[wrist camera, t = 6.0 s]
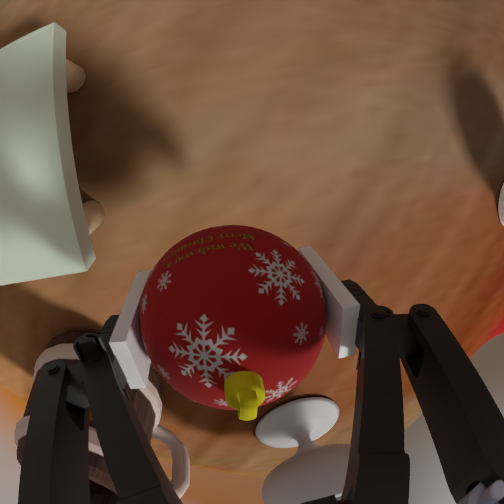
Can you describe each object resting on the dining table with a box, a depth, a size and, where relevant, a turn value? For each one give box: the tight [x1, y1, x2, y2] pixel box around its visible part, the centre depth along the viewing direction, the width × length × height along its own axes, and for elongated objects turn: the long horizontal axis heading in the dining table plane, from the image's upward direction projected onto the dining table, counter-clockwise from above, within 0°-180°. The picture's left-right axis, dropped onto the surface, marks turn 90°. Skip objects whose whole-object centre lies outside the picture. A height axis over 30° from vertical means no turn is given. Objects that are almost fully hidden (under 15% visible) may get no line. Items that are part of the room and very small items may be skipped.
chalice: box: [255, 397, 351, 504], centre depth 30 cm, size 14×14×15 cm
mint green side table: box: [0, 22, 104, 286], centre depth 16 cm, size 16×16×8 cm
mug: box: [15, 332, 190, 504], centre depth 23 cm, size 20×15×15 cm
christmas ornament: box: [140, 225, 327, 421], centre depth 13 cm, size 9×9×10 cm
